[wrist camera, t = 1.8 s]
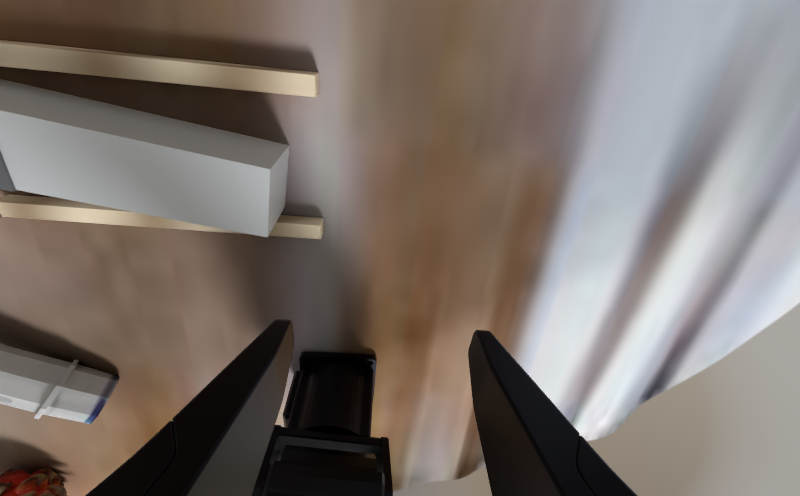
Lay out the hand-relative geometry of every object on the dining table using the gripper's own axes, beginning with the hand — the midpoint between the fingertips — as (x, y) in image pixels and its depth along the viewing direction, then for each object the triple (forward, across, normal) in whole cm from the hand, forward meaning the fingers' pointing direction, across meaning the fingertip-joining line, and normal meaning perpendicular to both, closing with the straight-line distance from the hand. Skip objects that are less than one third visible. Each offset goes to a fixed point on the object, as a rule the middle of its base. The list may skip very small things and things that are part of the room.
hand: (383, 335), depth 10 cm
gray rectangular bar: (+13, +14, 0) cm, 19 cm away
